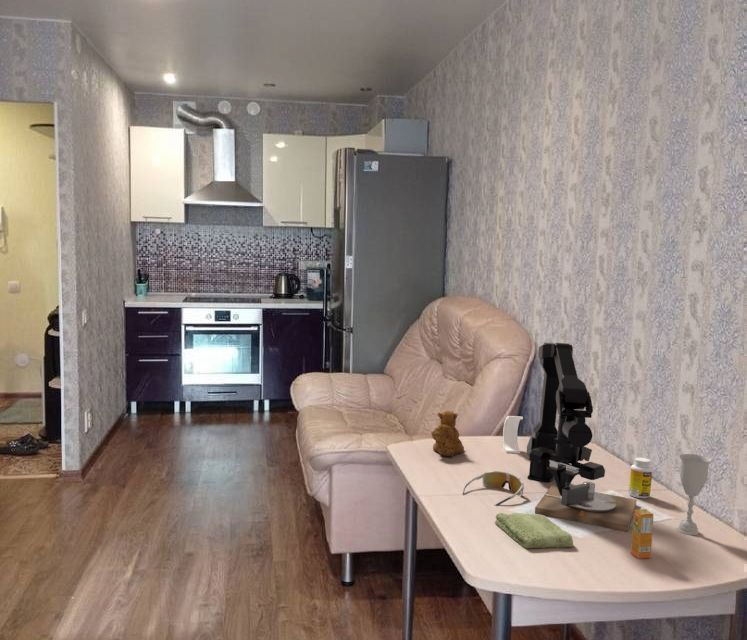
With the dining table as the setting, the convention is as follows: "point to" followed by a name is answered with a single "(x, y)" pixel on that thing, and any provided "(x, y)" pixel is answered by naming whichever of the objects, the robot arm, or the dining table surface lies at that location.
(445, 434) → the brown teddy bear
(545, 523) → the washcloth
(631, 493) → the supplement bottle
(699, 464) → the chalice
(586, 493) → the dial
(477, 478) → the sunglasses
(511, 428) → the headphone stand
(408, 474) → the dining table surface
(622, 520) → the dial base
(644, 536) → the supplement box
